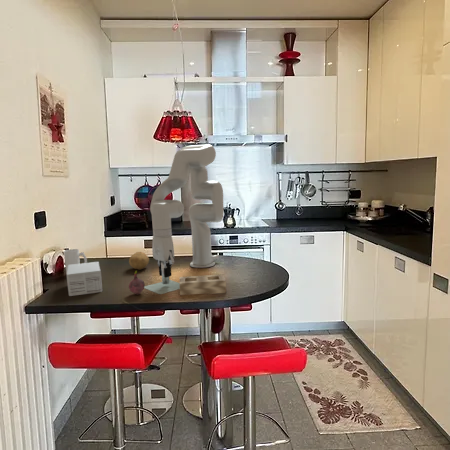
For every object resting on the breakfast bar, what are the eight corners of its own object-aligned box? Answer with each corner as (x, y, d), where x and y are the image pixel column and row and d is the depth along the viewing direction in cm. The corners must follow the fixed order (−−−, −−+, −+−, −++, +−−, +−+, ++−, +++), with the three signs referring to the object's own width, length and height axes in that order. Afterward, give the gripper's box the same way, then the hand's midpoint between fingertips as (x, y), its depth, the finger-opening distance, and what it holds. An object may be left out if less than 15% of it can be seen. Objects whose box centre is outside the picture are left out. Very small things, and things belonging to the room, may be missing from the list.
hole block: (223, 285, 158) (223, 274, 157) (226, 292, 149) (225, 280, 148) (180, 288, 156) (179, 277, 155) (180, 296, 147) (179, 283, 146)
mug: (64, 277, 180) (61, 252, 178) (68, 273, 186) (65, 249, 185) (86, 275, 181) (84, 251, 179) (89, 272, 188) (87, 248, 186)
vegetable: (127, 298, 147) (125, 272, 145) (131, 292, 153) (129, 268, 152) (143, 297, 147) (141, 272, 145) (146, 292, 153) (145, 268, 152)
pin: (167, 281, 161) (165, 258, 159) (171, 283, 159) (169, 259, 157) (161, 283, 159) (159, 260, 157) (164, 284, 157) (163, 261, 155)
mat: (170, 280, 168) (170, 279, 168) (188, 287, 158) (188, 286, 158) (141, 287, 159) (141, 287, 159) (159, 295, 149) (159, 294, 149)
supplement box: (69, 285, 167) (67, 264, 166) (100, 281, 172) (99, 261, 170) (68, 296, 151) (66, 274, 150) (102, 292, 156) (100, 269, 155)
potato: (127, 273, 183) (126, 257, 182) (131, 266, 197) (130, 251, 196) (148, 272, 184) (147, 256, 183) (150, 265, 198) (149, 250, 197)
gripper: (144, 231, 159) (147, 274, 162) (165, 236, 147) (168, 282, 150) (159, 229, 164) (162, 270, 167) (181, 233, 152) (184, 277, 155)
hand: (165, 275), depth 158 cm, fingers closed on pin, 3 cm apart
